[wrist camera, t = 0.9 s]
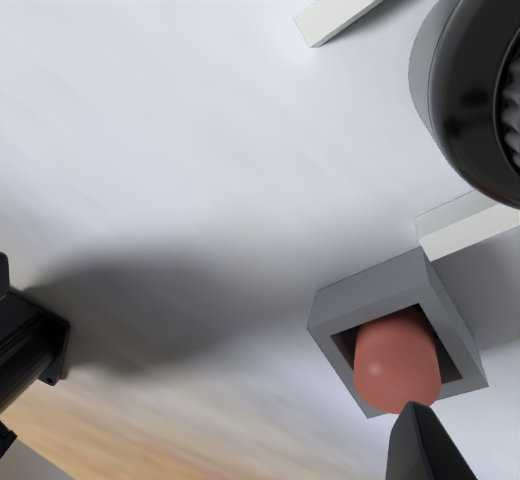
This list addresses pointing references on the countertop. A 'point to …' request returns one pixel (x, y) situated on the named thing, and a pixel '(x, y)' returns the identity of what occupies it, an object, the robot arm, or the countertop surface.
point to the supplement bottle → (472, 91)
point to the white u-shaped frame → (443, 217)
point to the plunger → (396, 361)
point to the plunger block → (385, 302)
